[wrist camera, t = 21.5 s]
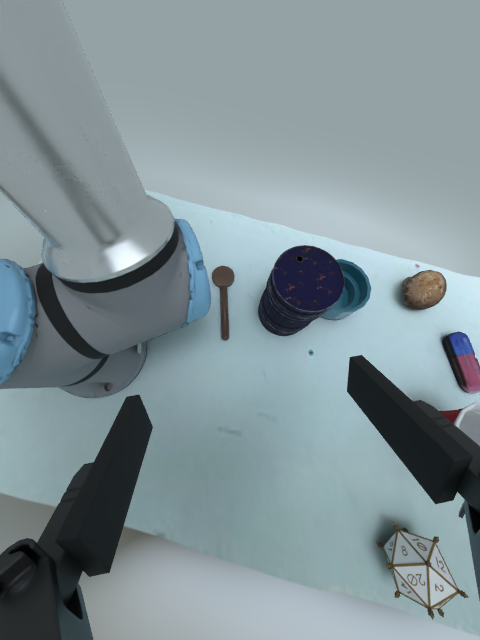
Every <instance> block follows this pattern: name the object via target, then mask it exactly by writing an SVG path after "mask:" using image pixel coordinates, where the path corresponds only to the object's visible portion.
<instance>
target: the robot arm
mask: <svg viewBox="0 0 480 640" xmlns="http://www.w3.org/2000/svg"><path fill="white" fill-rule="evenodd" d="M0 192H1V193H2V194H3V195H4V196H5V197H6V198H7V199H8V200H9V201H10V202H11V203H12V204H13V205H14V207H15V208H16V209H17V210H18V211H19V212H20V213H21V214H22V215H23V216H24V217H25V218H26V219H27V220H28V221H29V222H30V223H31V224H32V225H33V226H34V227H35V228H36V229H37V230H38V231H39V232H40V233H41V234H42V235H43V236H44V241H43V249H42V261H43V263H42V264H39V265H36V266H33V267H29V268H22V267H21V266H20V265H18V264H16V263H15V262H13V261H11V260H8V259H0V389H8V388H40V387H59V388H60V389H62V390H64V391H66V392H68V393H70V394H72V395H75V396H79V397H85V398H96V397H104V396H108V395H111V394H114V393H116V392H118V391H120V390H122V389H123V388H125V387H126V386H127V385H129V384H130V383H131V382H132V381H133V380H134V379H135V378H136V376H137V375H138V373H139V372H140V370H141V368H142V366H143V364H144V361H145V358H146V351H147V344H146V341H147V340H150V339H152V338H155V337H158V336H160V335H163V334H166V333H168V332H171V331H173V330H176V329H179V328H183V327H185V326H187V325H188V324H189V323H190V322H193V321H195V320H197V319H199V318H201V317H203V316H204V315H206V314H207V312H208V311H209V308H210V305H211V293H210V286H209V280H208V275H207V271H206V268H205V266H204V265H203V257H202V253H201V250H200V247H199V244H198V241H197V239H196V236H195V234H194V232H193V230H192V228H191V226H190V225H189V223H188V222H187V221H186V220H184V219H174V218H173V215H172V212H171V211H170V209H169V208H168V207H167V206H166V205H165V204H164V203H163V202H161V201H159V200H157V199H155V198H153V197H150V196H148V195H146V193H145V191H144V189H143V186H142V184H141V181H140V179H139V177H138V175H137V172H136V170H135V168H134V165H133V163H132V161H131V159H130V156H129V154H128V151H127V149H126V147H125V145H124V142H123V140H122V138H121V135H120V133H119V131H118V128H117V126H116V124H115V121H114V119H113V117H112V114H111V112H110V110H109V107H108V105H107V103H106V100H105V98H104V96H103V94H102V91H101V89H100V87H99V84H98V82H97V80H96V77H95V75H94V73H93V70H92V68H91V66H90V63H89V61H88V59H87V57H86V54H85V52H84V49H83V47H82V45H81V43H80V40H79V38H78V36H77V33H76V31H75V29H74V27H73V24H72V22H71V19H70V17H69V15H68V12H67V10H66V8H65V6H64V3H63V1H62V0H0ZM347 392H348V393H349V394H350V396H351V397H352V398H353V399H354V401H355V402H356V403H357V405H358V406H359V407H360V408H361V410H362V411H363V412H364V413H365V415H366V416H367V417H368V419H369V420H370V421H371V422H372V424H373V425H374V426H375V428H376V429H377V430H378V431H379V433H380V434H381V435H382V436H383V438H384V439H385V440H386V442H387V443H388V444H389V445H390V447H391V448H392V449H393V450H394V452H395V453H396V454H397V456H398V457H399V458H400V459H401V461H402V462H403V463H404V465H405V466H406V467H407V468H408V470H409V471H410V472H411V473H412V475H413V476H414V477H415V479H416V480H417V481H418V482H419V484H420V485H421V486H422V487H423V489H424V490H425V491H426V493H427V494H428V495H429V496H430V498H431V499H432V500H433V501H434V503H435V504H438V503H443V502H448V501H452V500H454V498H455V495H456V493H457V492H458V493H459V494H460V495H461V496H462V497H463V498H464V499H465V501H464V503H463V505H462V507H461V509H460V511H459V517H461V518H463V516H464V514H465V515H466V521H467V527H468V533H469V539H470V545H471V551H472V557H473V563H474V569H475V575H476V581H477V587H478V593H479V599H480V446H479V445H478V444H477V443H476V442H474V441H473V440H472V439H471V438H470V437H468V436H467V435H466V434H465V433H464V432H463V431H461V430H460V429H459V428H458V427H457V426H454V425H453V423H452V422H451V421H450V420H448V419H447V418H445V417H444V415H442V414H441V413H440V412H439V411H438V410H437V409H435V408H434V407H433V406H431V405H429V404H427V403H425V402H423V401H421V400H418V401H412V400H411V399H409V398H408V397H407V396H406V395H405V394H404V393H403V392H402V391H401V390H400V389H398V388H397V387H396V386H395V385H394V384H393V383H392V382H391V381H390V380H389V379H387V378H386V377H385V376H384V375H383V374H382V373H381V372H380V371H379V370H377V369H376V368H375V367H374V366H373V365H372V364H371V363H370V362H369V361H368V360H366V359H365V358H364V357H363V356H362V355H360V356H354V357H350V362H349V374H348V385H347ZM152 428H153V426H152V424H151V421H150V419H149V417H148V414H147V412H146V409H145V407H144V405H143V402H142V400H141V397H140V395H135V396H129V397H126V399H125V401H124V403H123V405H122V407H121V409H120V411H119V413H118V415H117V417H116V419H115V421H114V423H113V425H112V427H111V429H110V431H109V433H108V435H107V437H106V439H105V441H104V443H103V445H102V447H101V449H100V451H99V453H98V455H97V457H96V459H95V461H94V462H93V463H88V464H84V465H83V466H82V468H81V469H80V470H79V471H78V472H77V473H76V474H75V476H74V477H73V479H72V481H71V482H70V484H69V486H68V488H67V491H66V492H65V493H64V495H63V497H62V499H61V502H60V503H59V504H58V506H57V508H56V510H55V511H54V513H53V515H52V517H51V519H50V521H49V522H48V524H47V526H46V528H45V530H44V532H43V533H42V535H41V537H40V539H39V541H38V542H37V543H36V542H35V541H34V540H33V539H28V538H27V539H23V540H20V541H18V542H16V543H15V544H13V545H11V546H10V547H9V548H7V549H6V550H5V551H4V552H3V553H2V554H1V555H0V640H93V636H92V632H91V628H90V624H89V620H88V616H87V611H86V607H85V603H84V599H83V595H82V591H81V587H80V585H79V584H78V581H79V579H80V576H81V573H82V571H84V572H85V573H86V574H87V575H88V576H89V577H90V576H95V575H100V574H104V573H109V572H110V569H111V566H112V562H113V559H114V556H115V552H116V549H117V546H118V542H119V539H120V536H121V532H122V529H123V525H124V522H125V519H126V515H127V512H128V509H129V505H130V502H131V499H132V495H133V492H134V489H135V485H136V482H137V478H138V475H139V472H140V468H141V465H142V462H143V458H144V455H145V452H146V448H147V445H148V441H149V438H150V435H151V431H152Z"/></svg>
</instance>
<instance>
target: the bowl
mask: <svg viewBox="0 0 480 640" xmlns="http://www.w3.org/2000/svg"><path fill="white" fill-rule="evenodd" d="M336 261H337V262H338V263H339V265H340V266H341V269H342V271H343V274H344V280H345V284H344V290H343V293H342V295H341V297H340V299H339V300H338V301H337V302H336V303H335V304H334V305H333V306H331V307H330V308H329V309H328V310H327V311H326V312H325V313H323V314H322V315H321V317H324V318H327V319H330V320H335V319H342V318H344V317H346V316H348V315H350V314H351V313H353V312H355V311H357V310H358V309H360V308H362V307H364V305H365V304H366V302H367V301H368V300H369V298H370V292H371V286H370V282H369V279H368V277H367V275H366V274H365V273H364V271H363V270H362V269H361V268H360V267H358V266H357V265H355V264H354V263H352V262H349V261H346V260H342V259H339V260H336Z"/></svg>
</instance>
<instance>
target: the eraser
mask: <svg viewBox="0 0 480 640" xmlns="http://www.w3.org/2000/svg"><path fill="white" fill-rule="evenodd" d="M443 344H444V347H445V349H446V352H447V355H448V357H449V360H450V363H451V365H452V368H453V371H454V373H455V376H456V379H457V381H458V384H459V386H460V387H461V388H462V389H463V390H464V391H466V392H469V393H477V392H480V366H479V363H478V360H477V359H476V358H475V353H474V350H473V348H472V345H471V343H470V340H469V338H468V336H467V335H466V334H464V333H462V332H455V333H451V334H449V335H447V336H445V338H444V340H443Z"/></svg>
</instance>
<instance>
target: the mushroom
mask: <svg viewBox="0 0 480 640" xmlns="http://www.w3.org/2000/svg"><path fill="white" fill-rule="evenodd" d="M403 286H404V291H403V300H404V303H405V305H406V306H408V307H409V308H410V309H416V310H423V309H426V308H430V307H432V306H434V305H436V304H438V303H439V302H440V301H441V299H442V298H443V297H444V295H445V292H446V287H447V286H446V280H445V278H444V277H443V275H442V274H441V273H439V272H436V271H432V270H427V271H421V272H419V273H417V274H416V275H414V276H413V277H408V278H406V279H405V280H404V281H403Z"/></svg>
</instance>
